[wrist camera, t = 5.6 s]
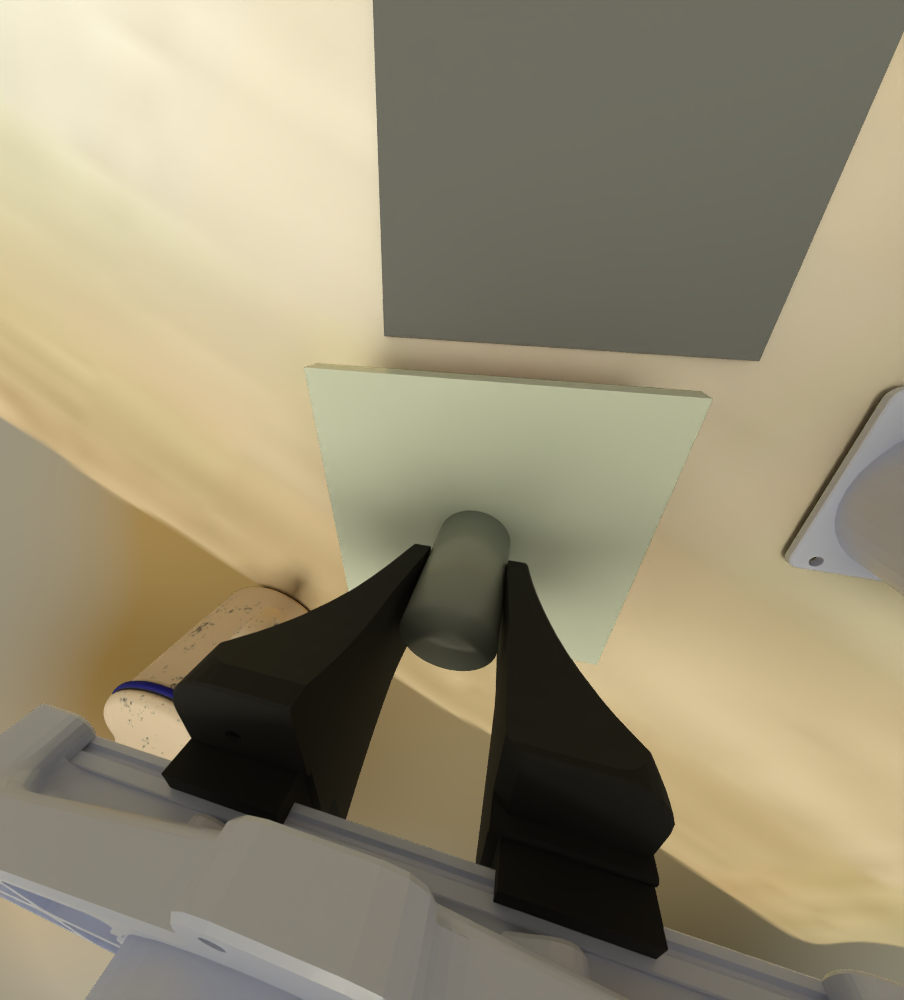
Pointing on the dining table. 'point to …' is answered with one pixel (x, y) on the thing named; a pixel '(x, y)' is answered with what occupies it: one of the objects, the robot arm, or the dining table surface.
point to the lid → (499, 494)
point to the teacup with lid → (187, 671)
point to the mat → (613, 164)
